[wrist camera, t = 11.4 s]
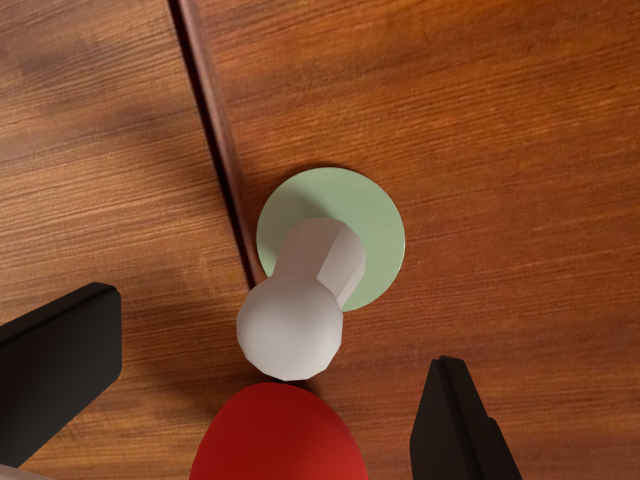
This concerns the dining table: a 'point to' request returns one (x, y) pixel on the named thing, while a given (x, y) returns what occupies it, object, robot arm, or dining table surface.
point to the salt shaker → (302, 301)
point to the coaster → (344, 205)
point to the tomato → (277, 439)
